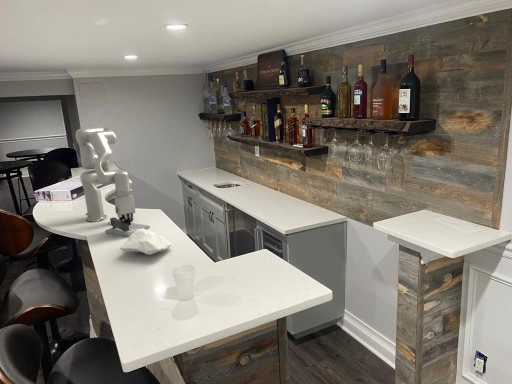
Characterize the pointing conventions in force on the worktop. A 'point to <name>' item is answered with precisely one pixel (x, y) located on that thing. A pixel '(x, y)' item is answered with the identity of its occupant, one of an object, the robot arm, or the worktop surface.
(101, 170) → the robot arm
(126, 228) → the swing arm
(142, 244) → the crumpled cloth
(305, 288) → the worktop surface
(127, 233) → the label panel
